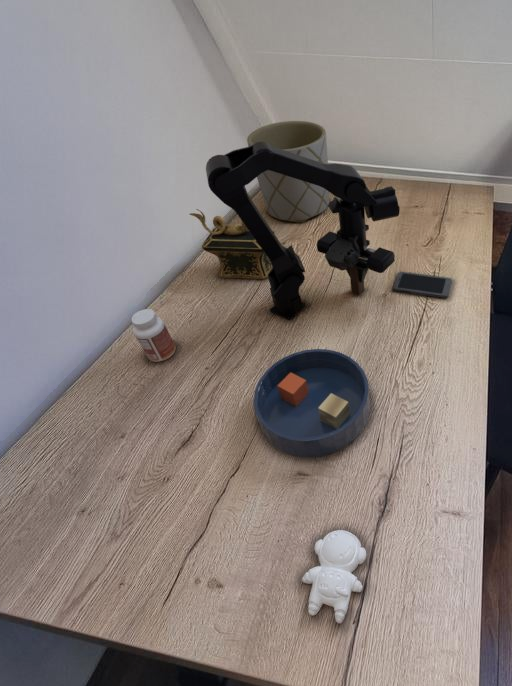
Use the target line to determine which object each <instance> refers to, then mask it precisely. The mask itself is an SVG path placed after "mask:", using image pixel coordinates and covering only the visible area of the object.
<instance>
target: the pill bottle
mask: <svg viewBox="0 0 512 686" xmlns="http://www.w3.org/2000/svg"><path fill="white" fill-rule="evenodd" d="M131 323H132V325H133V329H132V330H133V334H134V336H135V338H136V340H137V341H138V343H139V345H140V347H141V349H142V350H143V352H144V354H145V356H146V357H147V359H148V360H149V361H151V362H155V363H160V362H164V361H166V360H168V359H170V358H171V357H172V356H173V355H174V353H176V344H175V342H174V340H173V338H172V336H171V334H170V332H169V331H168V328H167V325H166V323H165V322H164V320H163V319H162V318H160V317H158V316H157V314H156V312H155V311H154V310H153V309H150V308H144V309H141V310H138V311H136V312H135V313H134V314H133V315H132V316H131Z"/></svg>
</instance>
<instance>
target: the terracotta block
mask: <svg viewBox="0 0 512 686" xmlns="http://www.w3.org/2000/svg"><path fill="white" fill-rule="evenodd" d="M278 390H279V393H280V397H281V399H283V400H285V401H287V402H288V403H290V404H292V405H294V406H297V405H298V404H299V403H300V402H301V401H302V400H303V399H304V398H305V397H306V396H307V394H308V393H309V391H308V387H307V382H306V380H305V379H303V378H301V377H299V376H297V375H295V374H293V373H291V372H290V373H289V374H288V375H287V376H286V377H285V378H284V379H283V380H282V381H281V382H280V383H279V384H278Z"/></svg>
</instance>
